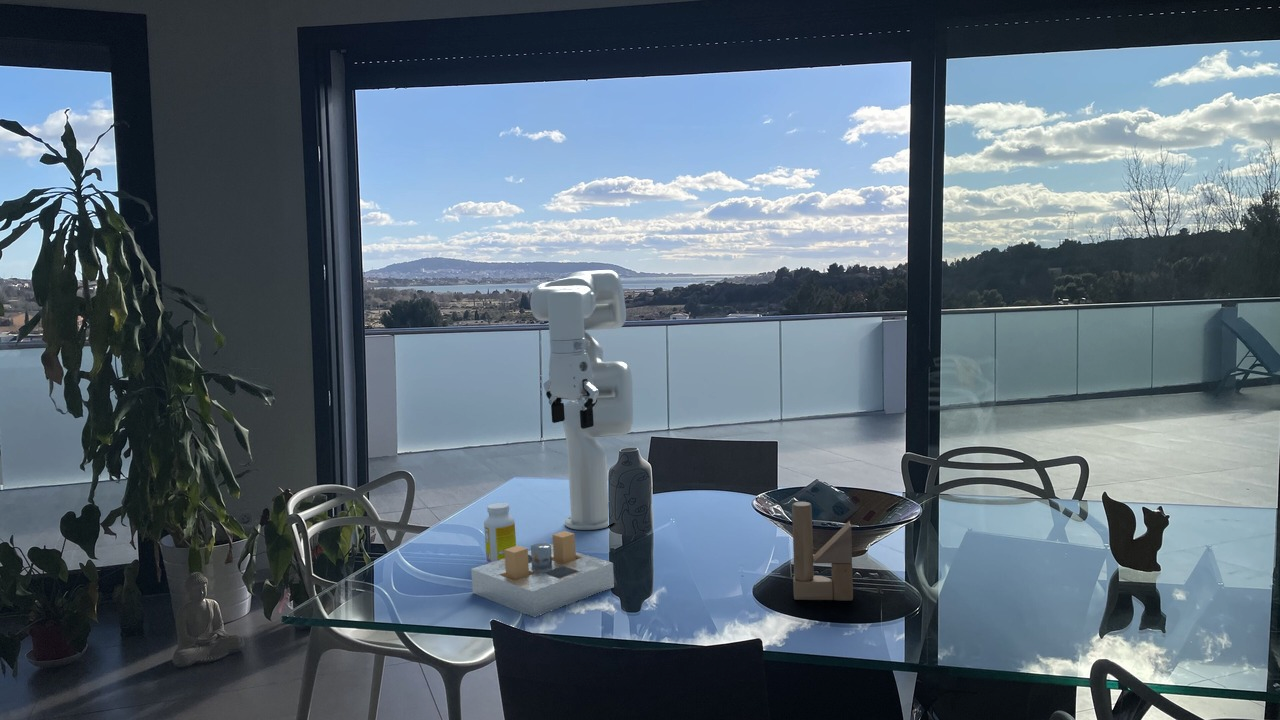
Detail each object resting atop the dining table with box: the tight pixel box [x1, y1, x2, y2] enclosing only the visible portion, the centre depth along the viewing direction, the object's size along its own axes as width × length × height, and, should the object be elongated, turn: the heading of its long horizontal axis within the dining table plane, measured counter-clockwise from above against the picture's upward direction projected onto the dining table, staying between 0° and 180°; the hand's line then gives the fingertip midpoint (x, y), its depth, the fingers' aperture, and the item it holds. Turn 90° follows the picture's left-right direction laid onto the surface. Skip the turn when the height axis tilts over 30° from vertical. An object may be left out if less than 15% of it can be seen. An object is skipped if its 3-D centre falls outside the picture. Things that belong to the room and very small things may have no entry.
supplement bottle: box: [483, 502, 517, 564], centre depth 196 cm, size 7×7×13 cm
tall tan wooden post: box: [504, 545, 529, 581], centre depth 174 cm, size 3×3×10 cm
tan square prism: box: [551, 530, 577, 564], centre depth 182 cm, size 3×3×10 cm
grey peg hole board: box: [470, 542, 615, 618], centre depth 178 cm, size 20×20×9 cm
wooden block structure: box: [791, 501, 854, 602], centre depth 167 cm, size 4×11×18 cm, turn 82°
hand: (572, 424), depth 195 cm, fingers open, 9 cm apart
